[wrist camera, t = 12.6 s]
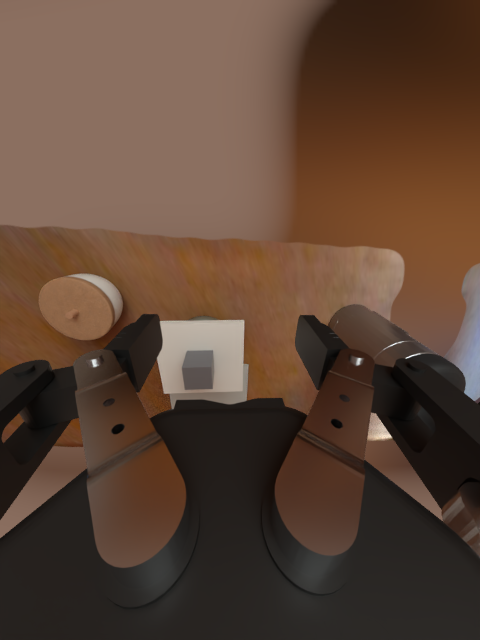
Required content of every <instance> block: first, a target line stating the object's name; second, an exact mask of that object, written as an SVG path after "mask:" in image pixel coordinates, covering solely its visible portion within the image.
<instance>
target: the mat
mask: <svg viewBox="0 0 480 640" xmlns="http://www.w3.org/2000/svg"><path fill="white" fill-rule="evenodd" d="M247 382H248V364H243V391H236V392H203V393H171V394H170V400H171V406H172V409H174V406H175V403H176V400H196V399H204V400H209V401H214V402H219V403H224V404H235V403H240V402H244V401H247Z"/></svg>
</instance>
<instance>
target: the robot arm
mask: <svg viewBox="0 0 480 640" xmlns="http://www.w3.org/2000/svg"><path fill="white" fill-rule="evenodd" d="M162 345H163V338H162V332H161V326H160V320H159V316H158V315H157V314H143V315H142V316H141V317H140V318H139V319H138V320H137V321H136V322H135V323H131V324H130V325H128V326H126V327H124V328H123V329H122V330H121V332H120V333H119V334H118V335H117V336H116V338H114V339H113V340H112V341H111V342H110V343H109V344H108V345H107V346H106V347H105V348H104V349H103V350H96V351H92V352H89V353H87V354H84V355H82V356H81V357H79V358H78V359H77V360H76V361H75V362H74V364H73V366H71V367H65V368H60V369H55V370H52V368H51V366H50V364H49V362H48V361H45V360H35V361H29V362H26V363H22V364H19V365H17V366H15V367H12V368H10V369H9V370H7V371H5V372H4V373H3V374H1V375H0V520H1V518H2V517H3V516H4V514H5V513H6V511H7V510H8V508H9V507H10V505H11V504H12V503H13V501H14V500H15V499H16V497H17V496H18V494H19V493H20V492H21V490H22V489H23V487H24V486H25V484H26V483H27V482H28V480H29V479H30V478H31V476H32V475H33V473H34V472H35V471H36V469H37V468H38V466H39V465H40V464H41V462H42V461H43V459H44V458H45V457H46V455H47V454H48V452H49V451H50V450H51V448H52V447H53V445H54V444H55V443H56V441H57V440H58V438H59V437H60V436H61V434H62V433H63V431H64V430H65V428H66V427H67V426H68V424H69V423H70V421H71V420H72V419H76V418H79V422H80V428H81V434H82V440H83V446H84V452H85V458H86V464H87V469H86V470H84V471H83V472H82V473H81V474H79V475H78V476H77V477H76V478H75V479H73V480H72V481H71V482H70V483H68V484H67V485H66V486H65V487H64V488H62V489H61V490H60V491H58V492H57V493H56V494H55V495H54V496H52V497H51V498H50V499H48V500H47V501H46V502H45V503H44V504H42V505H41V506H40V507H39V508H37V509H36V510H35V511H34V512H32V513H31V514H30V515H29V516H27V517H26V518H25V519H24V520H22V521H21V522H20V523H19V524H17V525H16V526H15V527H14V528H13V529H11V530H10V531H9V532H8V533H6V534H5V535H4V536H3V537H1V538H0V640H480V402H479V403H478V404H477V403H476V402H475V401H473V400H472V399H471V398H470V397H468V396H467V395H466V394H464V390H465V385H466V382H465V377H464V375H463V373H462V372H461V371H460V369H459V368H458V367H456V366H455V365H454V364H452V363H451V362H449V361H448V360H446V359H445V358H443V357H441V356H440V355H438V354H436V353H435V352H434V351H432V350H431V349H429V348H427V347H426V346H424V345H423V344H421V343H419V342H418V341H416V340H415V339H413V338H412V337H410V336H409V334H408V333H407V332H406V331H404V330H402V329H401V328H400V327H398V326H396V325H395V324H393V323H392V322H390V321H389V320H387V319H385V318H384V317H382V316H381V315H379V314H378V313H376V312H374V311H371V310H369V309H368V308H366V307H364V306H362V305H349V306H347V307H344V308H342V309H341V310H339V311H338V312H337V313H336V314H335V315H334V316H333V318H332V319H331V321H330V324H329V327H328V326H327V325H325V324H323V323H320V321H319V320H318V319H317V318H316V317H315V316H314V315H300V317H299V319H298V325H297V331H296V337H295V346H296V350H297V352H298V354H299V356H300V358H301V359H302V361H303V363H304V365H305V367H306V369H307V371H308V373H309V375H310V377H311V379H312V381H313V383H314V385H315V387H316V389H317V390H319V392H318V395H317V397H316V399H315V401H314V403H313V405H312V407H311V409H310V412H309V414H308V415H306V414H304V413H302V412H300V411H298V410H296V409H293V408H289V407H285V405H284V402H283V399H282V398H257V399H252V400H248V401H244V402H240V403H235V404H224V403H219V402H214V401H209V400H204V399H196V400H176V403H175V406H174V409H170V410H167V411H164V412H162V413H159V414H157V415H155V416H153V417H152V418H149V416H148V414H147V412H146V410H145V408H144V406H143V404H142V402H141V401H140V399H139V397H138V395H137V393H136V392H140V390H141V388H142V386H143V384H144V382H145V380H146V378H147V376H148V374H149V373H150V371H151V369H152V367H153V365H154V363H155V361H156V359H157V357H158V355H159V353H160V351H161V349H162ZM371 412H372V413H376V414H377V416H378V417H379V419H380V420H381V422H382V423H383V425H384V426H385V427H386V429H387V430H388V432H389V433H390V435H391V436H392V438H393V439H394V441H395V442H396V444H397V445H398V447H399V448H400V449H401V451H402V452H403V454H404V455H405V457H406V458H407V460H408V461H409V463H410V464H411V465H412V467H413V469H414V470H415V471H416V473H417V474H418V476H419V477H420V478H421V480H422V482H423V483H424V484H425V486H426V488H427V489H428V490H429V492H430V493H431V495H432V496H433V498H434V499H435V501H436V502H437V504H438V505H439V507H440V508H441V510H442V518H443V521H441V520H440V519H439V518H438V517H436V516H435V515H434V514H433V513H431V512H430V511H429V510H427V509H426V508H425V507H424V506H422V505H421V504H420V503H419V502H417V501H416V500H415V499H413V498H412V497H411V496H410V495H409V494H407V493H406V492H405V491H404V490H402V489H401V488H400V487H398V486H397V485H396V484H395V483H393V482H392V481H390V480H389V479H388V478H387V477H386V476H385V475H383V474H382V473H381V472H379V471H378V470H377V469H376V468H374V467H373V466H372V465H371V464H369V463H368V462H367V461H366V460H364V457H365V450H366V443H367V436H368V429H369V422H370V415H371ZM18 413H19V414H20V415H21V417H22V419H23V420H24V422H23V423H22V424H21V425H20V426H19V428H18V429H17V430H16V431H15V432H14V433H13V434H12V435H11V436H10V437H9V438H8V439H7V440H6V441H5V442H4V444H3V442H2V439H1V437H2V432H3V430H4V428H5V427H6V425H7V424H8V423H9V422H10V421H11V420H12V419H13V418H14V417H15V416H16V415H17V414H18Z"/></svg>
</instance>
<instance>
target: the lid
mask: <svg viewBox="0 0 480 640" xmlns="http://www.w3.org/2000/svg"><path fill="white" fill-rule="evenodd" d="M160 326H161V332H162V338H163V345H162V349H161V351H160V353H159V355H158V357H157V361H158V366H159V370H160V375H161V380H162V385H163V390H164V394H171V393H203V392H236V391H243V354H244V320H203V321H160Z"/></svg>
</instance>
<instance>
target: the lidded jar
mask: <svg viewBox="0 0 480 640" xmlns="http://www.w3.org/2000/svg"><path fill="white" fill-rule="evenodd" d="M39 306H40V310H41V312H42V314H43V316H44V317H45V319H46V320H47V321H48V323H49V324H50V325H51V326H52V327H53V328H55V329H56V330H57V331H59V332H60V333H62V334H64V335H66V336H68V337H71V338H74V339H78V340H95V339H98V338H100V337H102V336H104V335H105V334H106V333H108V332H109V330H110V329H111V328H112V327H113V326H114V325H115V323H116V322H117V321H118V319H119V318H120V316H121V313H122V310H123V300H122V297H121V294H120V292H119V291H118V289H117V288H116V287H115V286H114V285H113V284H112V283H111V282H110V281H108V280H106V279H105V278H103V277H100V276H97V275H93V274H74V275H69V276H65V277H60V278H57V279H54V280H51V281H49V282H48V283H46V284H45V285H44V286H43V288H42V289H41V291H40V294H39Z"/></svg>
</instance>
